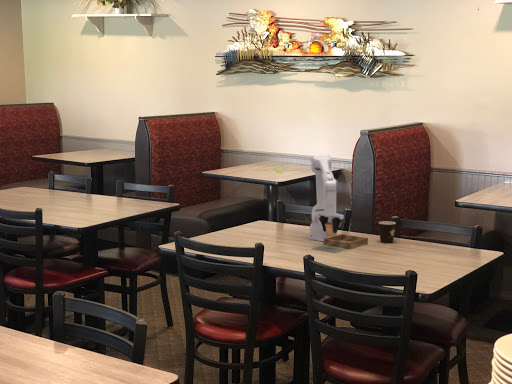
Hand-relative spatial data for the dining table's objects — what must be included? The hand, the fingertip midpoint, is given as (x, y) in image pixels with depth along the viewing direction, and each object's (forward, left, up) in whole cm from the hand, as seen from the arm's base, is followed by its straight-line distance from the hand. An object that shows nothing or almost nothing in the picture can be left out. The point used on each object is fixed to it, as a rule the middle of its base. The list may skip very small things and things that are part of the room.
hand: (330, 232), depth 334 cm
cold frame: (0, +14, -8) cm, 16 cm away
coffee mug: (+14, +33, -9) cm, 37 cm away
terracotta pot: (0, +1, -2) cm, 2 cm away
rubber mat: (0, -1, -8) cm, 9 cm away
